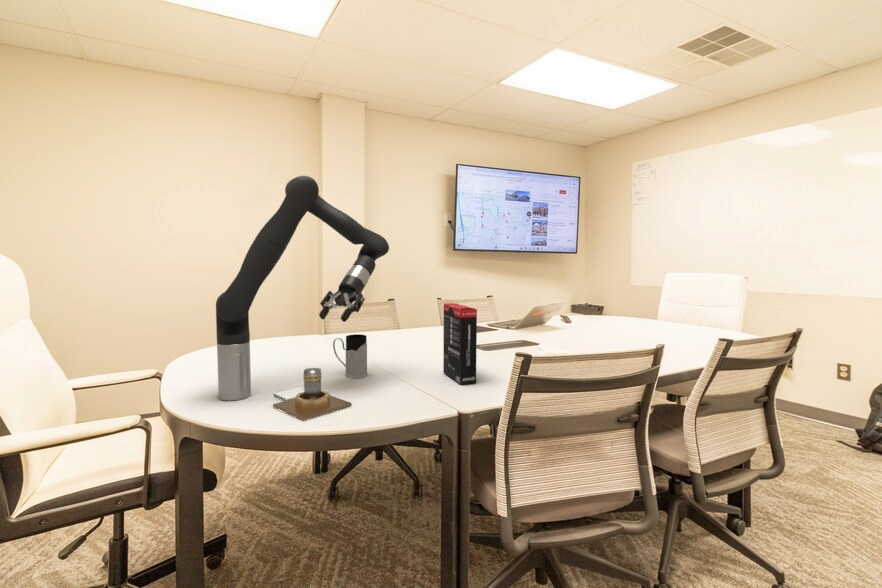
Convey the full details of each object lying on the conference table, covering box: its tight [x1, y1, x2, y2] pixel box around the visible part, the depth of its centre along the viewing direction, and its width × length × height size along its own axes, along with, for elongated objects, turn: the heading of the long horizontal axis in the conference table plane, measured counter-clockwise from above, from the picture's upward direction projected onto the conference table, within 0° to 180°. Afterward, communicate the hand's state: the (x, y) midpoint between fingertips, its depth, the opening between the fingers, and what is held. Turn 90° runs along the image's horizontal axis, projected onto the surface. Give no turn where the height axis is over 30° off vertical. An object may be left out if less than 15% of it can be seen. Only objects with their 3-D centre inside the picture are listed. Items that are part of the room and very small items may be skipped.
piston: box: [303, 367, 322, 399], centre depth 127 cm, size 5×5×10 cm
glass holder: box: [332, 333, 369, 380], centre depth 161 cm, size 9×14×15 cm, turn 71°
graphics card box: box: [442, 302, 478, 386], centre depth 158 cm, size 17×7×27 cm, turn 22°
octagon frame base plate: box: [272, 389, 353, 422], centre depth 127 cm, size 16×16×4 cm
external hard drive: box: [272, 386, 304, 402], centre depth 138 cm, size 2×8×12 cm
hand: (331, 318), depth 136 cm, fingers open, 8 cm apart
